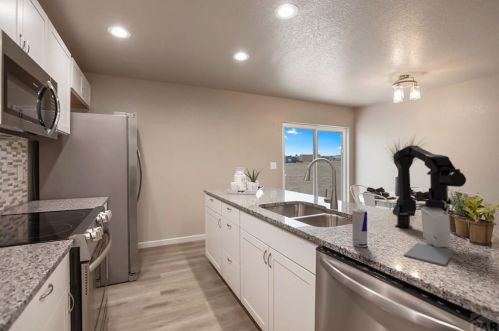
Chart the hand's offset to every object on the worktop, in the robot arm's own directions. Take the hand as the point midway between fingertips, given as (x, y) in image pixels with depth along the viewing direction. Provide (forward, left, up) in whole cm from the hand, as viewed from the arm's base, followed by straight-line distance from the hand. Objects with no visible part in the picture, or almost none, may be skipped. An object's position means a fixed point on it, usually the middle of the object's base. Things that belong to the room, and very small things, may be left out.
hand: (439, 222), depth 102 cm
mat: (+16, 0, -9) cm, 18 cm away
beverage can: (+25, -22, -9) cm, 35 cm away
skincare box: (+2, 0, -7) cm, 8 cm away
